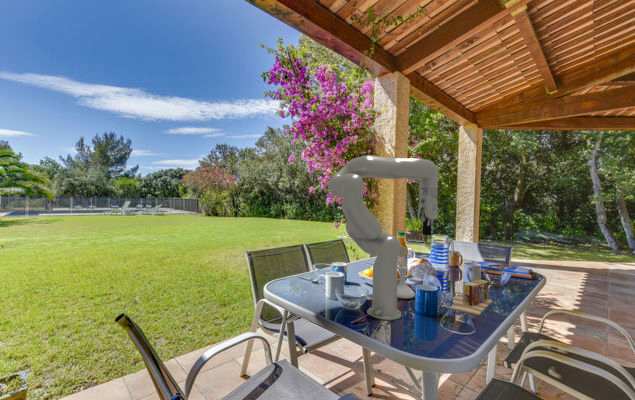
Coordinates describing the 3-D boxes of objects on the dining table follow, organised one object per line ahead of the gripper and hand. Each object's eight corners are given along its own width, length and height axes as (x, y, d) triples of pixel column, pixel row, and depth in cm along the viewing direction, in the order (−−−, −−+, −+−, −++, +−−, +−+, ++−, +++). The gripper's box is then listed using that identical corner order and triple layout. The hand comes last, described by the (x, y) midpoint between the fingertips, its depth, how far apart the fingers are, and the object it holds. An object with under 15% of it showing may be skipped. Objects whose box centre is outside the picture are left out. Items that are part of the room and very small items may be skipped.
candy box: (473, 286, 117) (488, 280, 127) (463, 283, 121) (478, 278, 130) (473, 307, 117) (488, 300, 126) (463, 304, 121) (478, 297, 130)
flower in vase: (420, 298, 129) (420, 244, 130) (404, 302, 123) (404, 246, 124) (397, 291, 140) (398, 241, 141) (382, 294, 134) (382, 243, 135)
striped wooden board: (478, 316, 108) (478, 314, 108) (441, 307, 118) (441, 305, 118) (493, 301, 127) (493, 299, 127) (460, 294, 137) (460, 293, 137)
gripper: (429, 191, 113) (428, 236, 112) (443, 194, 124) (442, 235, 123) (412, 191, 118) (410, 234, 117) (427, 194, 129) (425, 234, 128)
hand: (426, 234), depth 120 cm, fingers closed
